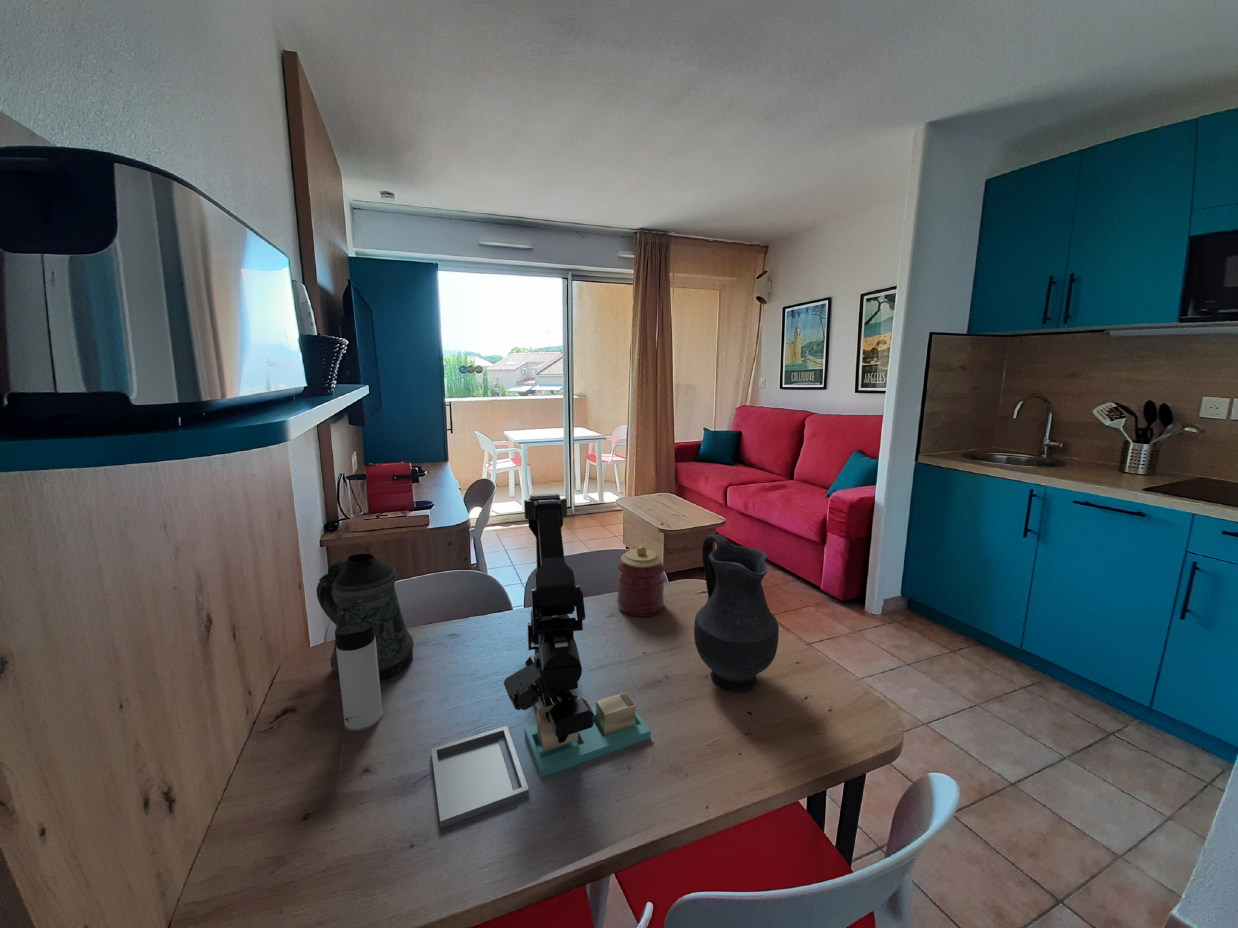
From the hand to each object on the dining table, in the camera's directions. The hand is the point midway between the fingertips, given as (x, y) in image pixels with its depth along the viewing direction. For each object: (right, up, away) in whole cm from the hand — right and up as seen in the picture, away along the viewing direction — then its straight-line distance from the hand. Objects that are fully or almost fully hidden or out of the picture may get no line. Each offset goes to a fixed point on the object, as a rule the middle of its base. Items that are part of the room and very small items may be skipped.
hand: (557, 733), depth 84 cm
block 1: (0, -1, 0) cm, 1 cm away
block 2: (+10, -2, +5) cm, 11 cm away
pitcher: (+34, 0, +23) cm, 41 cm away
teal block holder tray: (+5, -3, +3) cm, 7 cm away
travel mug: (-37, -2, +7) cm, 38 cm away
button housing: (-2, -2, +10) cm, 10 cm away
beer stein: (-45, +2, +25) cm, 52 cm away
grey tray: (-12, -5, -5) cm, 14 cm away
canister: (+17, +6, +52) cm, 55 cm away
